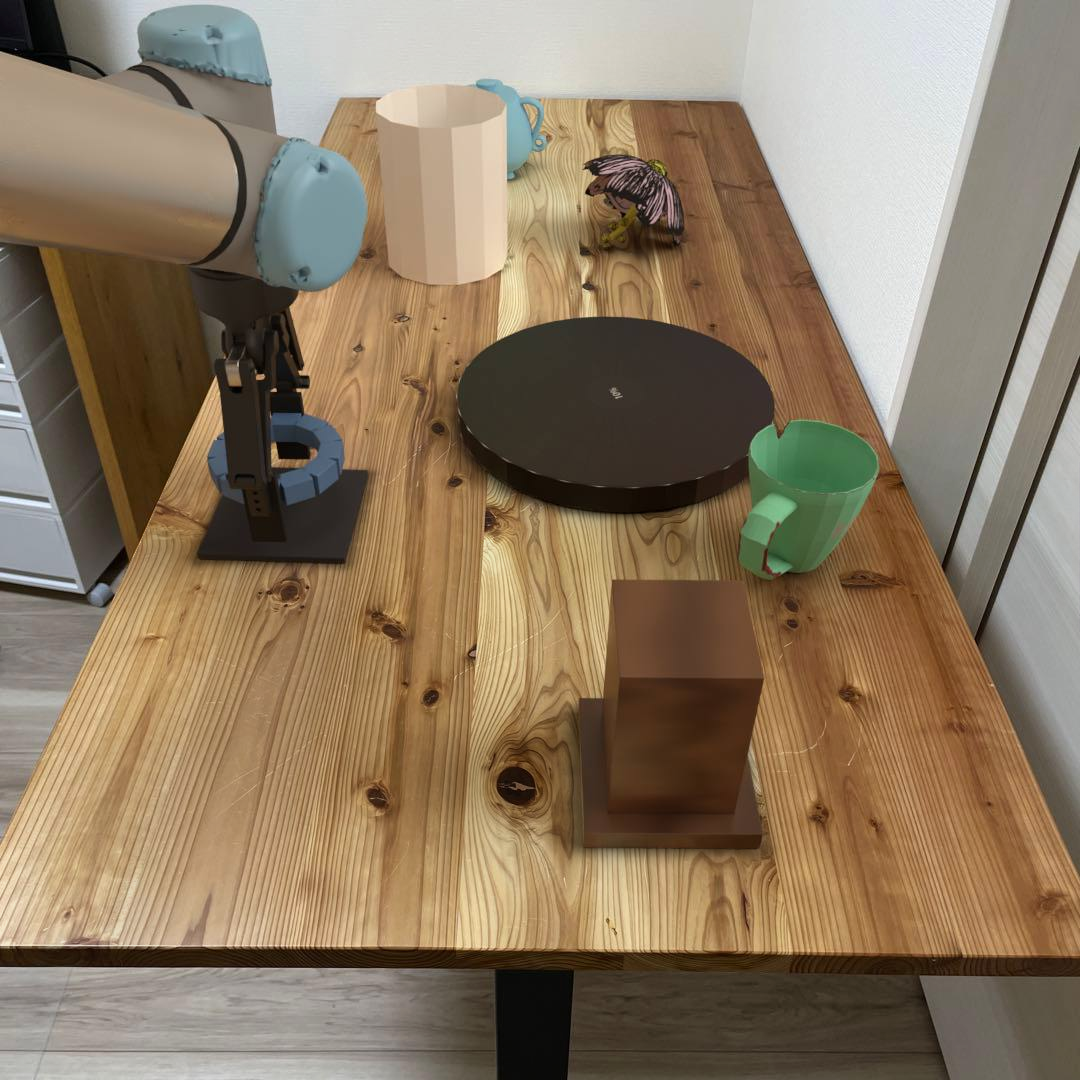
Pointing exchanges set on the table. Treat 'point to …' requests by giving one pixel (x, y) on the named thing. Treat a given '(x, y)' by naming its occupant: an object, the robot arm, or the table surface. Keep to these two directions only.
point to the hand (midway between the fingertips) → (283, 496)
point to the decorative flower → (636, 194)
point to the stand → (673, 720)
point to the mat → (291, 526)
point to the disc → (613, 413)
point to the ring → (297, 481)
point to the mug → (803, 495)
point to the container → (444, 182)
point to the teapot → (517, 123)
